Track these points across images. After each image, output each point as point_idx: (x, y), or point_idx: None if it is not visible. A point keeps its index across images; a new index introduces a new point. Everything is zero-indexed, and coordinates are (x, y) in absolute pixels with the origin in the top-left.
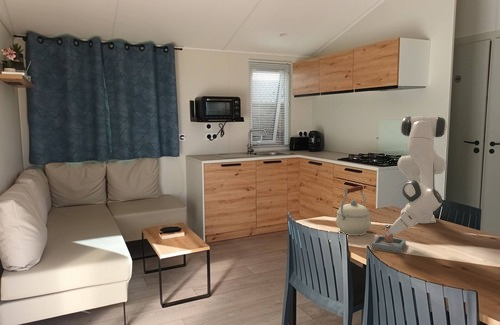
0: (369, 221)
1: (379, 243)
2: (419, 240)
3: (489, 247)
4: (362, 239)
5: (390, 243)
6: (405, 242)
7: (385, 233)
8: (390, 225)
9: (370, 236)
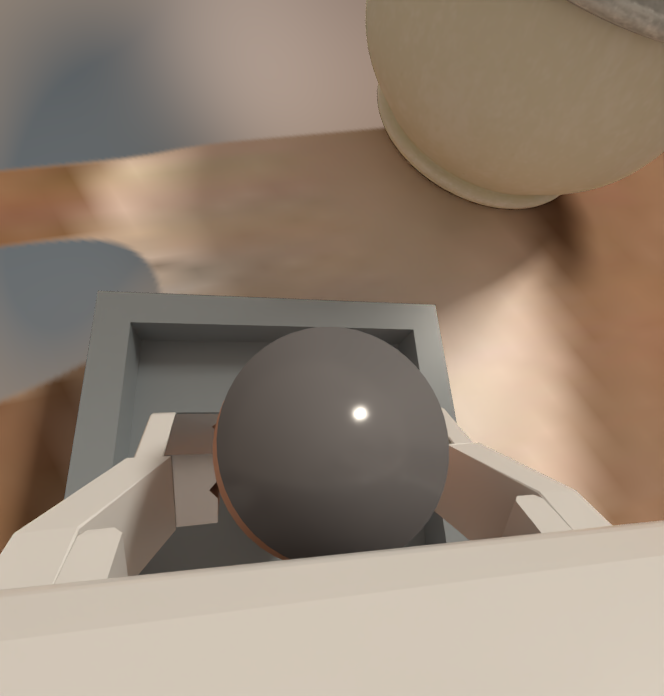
0: (596, 125)
1: (121, 382)
2: None
3: None
4: (341, 208)
5: None
6: None
7: (154, 416)
8: (398, 450)
9: (462, 253)
